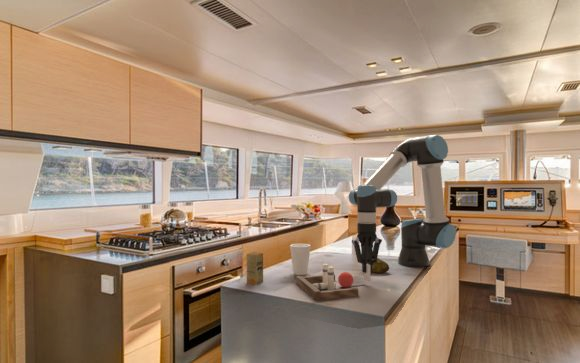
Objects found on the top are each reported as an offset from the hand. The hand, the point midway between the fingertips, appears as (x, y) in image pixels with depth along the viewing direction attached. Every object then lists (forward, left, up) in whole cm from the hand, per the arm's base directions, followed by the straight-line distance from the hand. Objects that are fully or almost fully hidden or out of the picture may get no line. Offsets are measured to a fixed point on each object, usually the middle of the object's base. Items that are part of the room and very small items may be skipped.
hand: (367, 280), depth 139 cm
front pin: (+14, 0, -1) cm, 14 cm away
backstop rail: (+18, 0, -2) cm, 18 cm away
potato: (-14, -18, -2) cm, 23 cm away
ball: (+10, 0, +1) cm, 10 cm away
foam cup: (+20, -26, -2) cm, 33 cm away
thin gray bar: (+5, 0, -2) cm, 5 cm away
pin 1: (+17, -2, -2) cm, 18 cm away
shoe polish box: (+43, -18, -2) cm, 47 cm away
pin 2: (+17, +2, -2) cm, 18 cm away
